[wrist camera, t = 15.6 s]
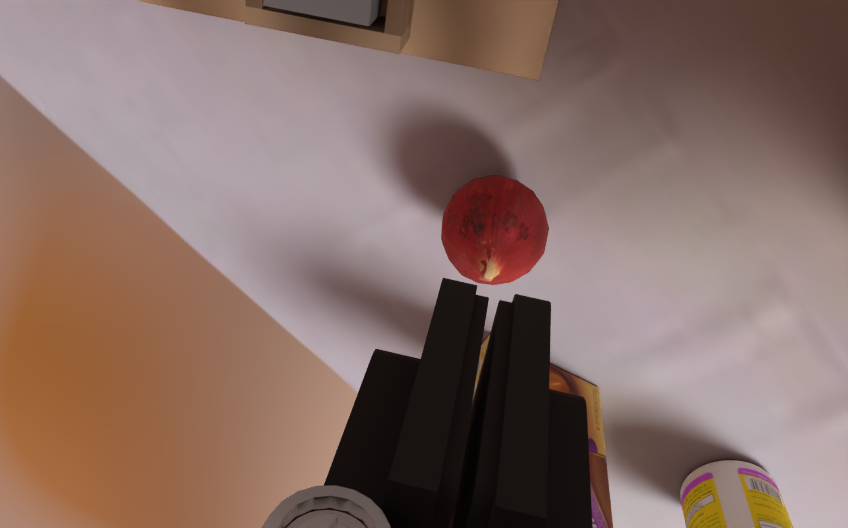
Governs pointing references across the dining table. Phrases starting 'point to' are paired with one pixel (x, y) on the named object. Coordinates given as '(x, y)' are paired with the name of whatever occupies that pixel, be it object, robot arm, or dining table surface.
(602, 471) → the candy box
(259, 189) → the dining table surface
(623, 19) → the dining table surface
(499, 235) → the pomegranate
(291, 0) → the charcoal key
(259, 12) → the wooden shape sorter board
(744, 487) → the supplement bottle
